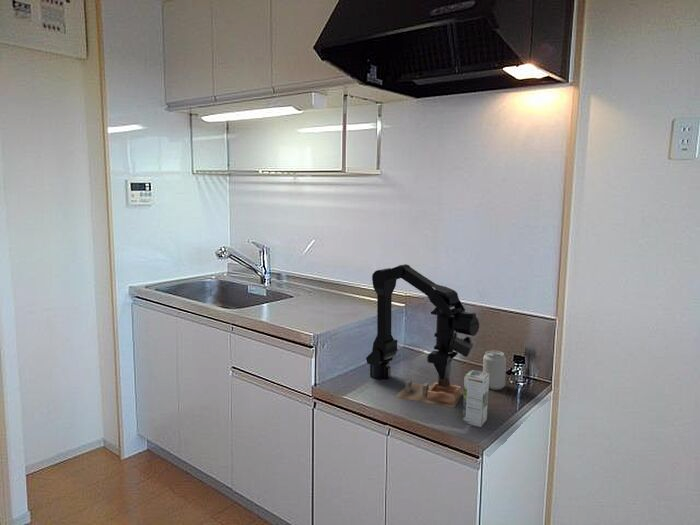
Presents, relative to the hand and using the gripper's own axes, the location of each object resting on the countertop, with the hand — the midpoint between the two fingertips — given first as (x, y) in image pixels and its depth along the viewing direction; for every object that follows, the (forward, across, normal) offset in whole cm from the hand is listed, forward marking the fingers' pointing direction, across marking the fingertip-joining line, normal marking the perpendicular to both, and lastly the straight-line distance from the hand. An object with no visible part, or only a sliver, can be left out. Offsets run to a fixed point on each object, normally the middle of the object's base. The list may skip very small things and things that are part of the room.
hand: (444, 377), depth 166 cm
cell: (+2, 0, 0) cm, 2 cm away
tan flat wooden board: (+8, 0, +4) cm, 9 cm away
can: (+8, +18, -13) cm, 23 cm away
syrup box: (+8, -12, -13) cm, 19 cm away
